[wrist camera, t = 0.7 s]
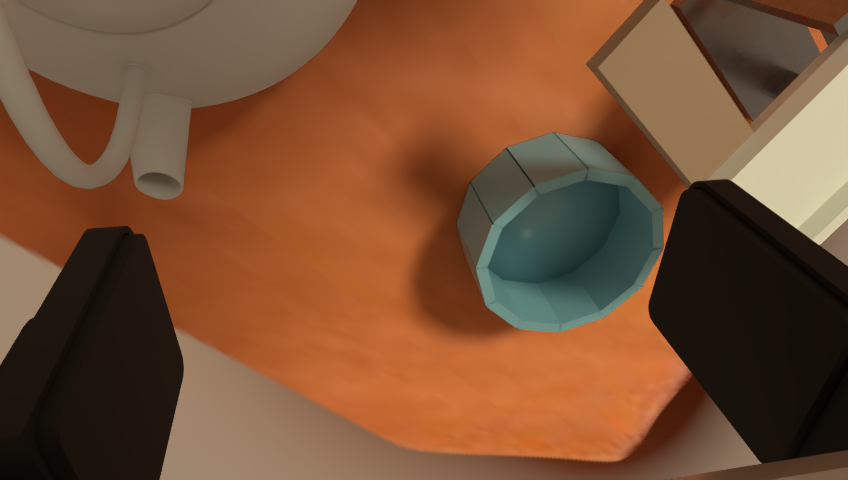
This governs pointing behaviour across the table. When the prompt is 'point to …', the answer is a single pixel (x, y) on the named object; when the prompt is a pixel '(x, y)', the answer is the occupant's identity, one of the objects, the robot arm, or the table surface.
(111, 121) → the table surface
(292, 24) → the kettle
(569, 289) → the teal round bowl
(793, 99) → the lever
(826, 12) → the lever stand
